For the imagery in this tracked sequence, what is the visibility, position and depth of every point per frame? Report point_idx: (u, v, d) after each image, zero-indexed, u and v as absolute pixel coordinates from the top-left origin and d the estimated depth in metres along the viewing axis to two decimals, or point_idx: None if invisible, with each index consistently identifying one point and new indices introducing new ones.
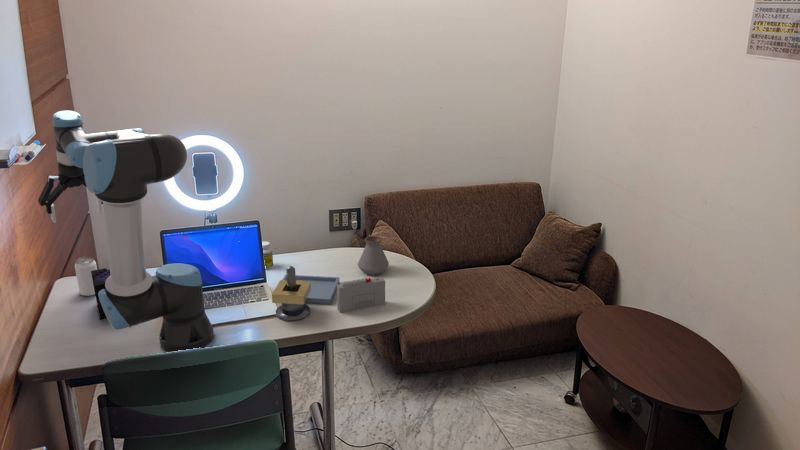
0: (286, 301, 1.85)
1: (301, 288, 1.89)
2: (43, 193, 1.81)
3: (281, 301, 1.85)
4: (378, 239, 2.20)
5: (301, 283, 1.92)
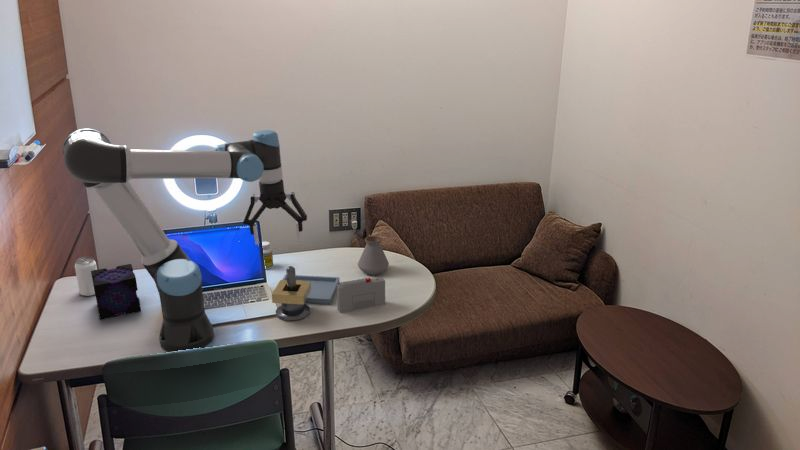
0: (286, 301, 1.85)
1: (301, 288, 1.89)
2: (247, 212, 1.91)
3: (281, 301, 1.85)
4: (378, 239, 2.20)
5: (301, 283, 1.92)
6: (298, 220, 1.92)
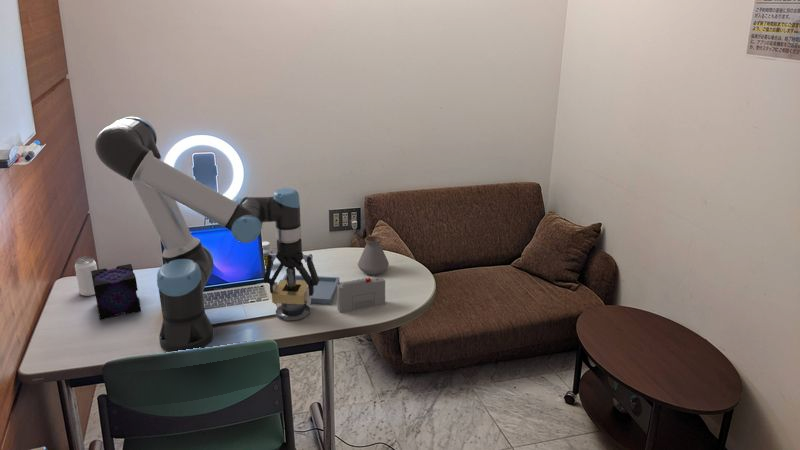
0: (286, 301, 1.85)
1: (301, 288, 1.89)
2: None
3: (281, 301, 1.85)
4: (378, 239, 2.20)
5: (301, 283, 1.92)
6: (309, 284, 1.87)
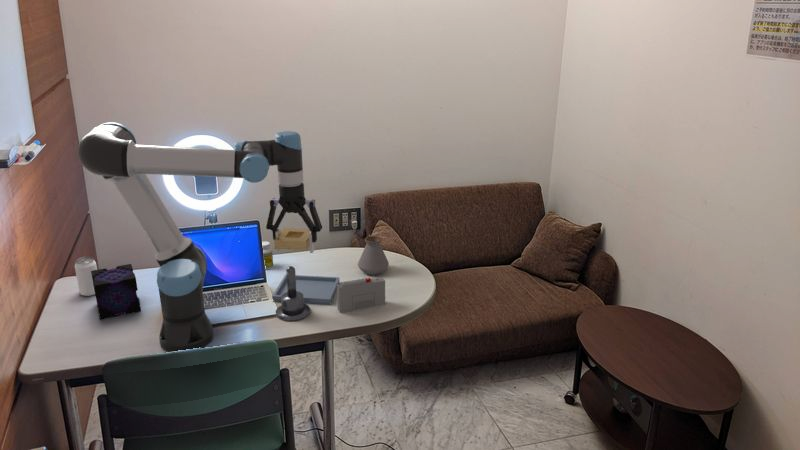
0: (289, 247, 1.83)
1: (304, 235, 1.86)
2: None
3: (284, 247, 1.83)
4: (378, 239, 2.20)
5: (304, 231, 1.90)
6: (312, 230, 1.84)
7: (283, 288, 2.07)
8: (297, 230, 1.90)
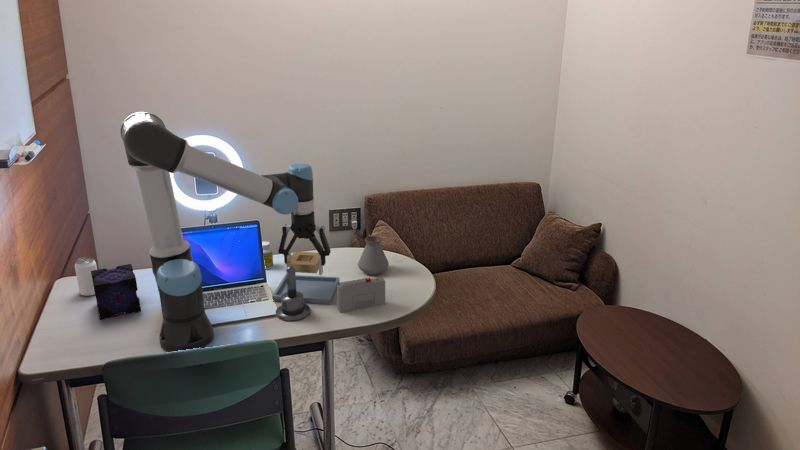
0: (300, 271, 1.97)
1: (314, 258, 2.00)
2: (281, 241, 1.99)
3: (295, 270, 1.97)
4: (378, 239, 2.20)
5: (313, 254, 2.03)
6: (321, 254, 1.98)
7: (283, 288, 2.07)
8: (306, 253, 2.04)
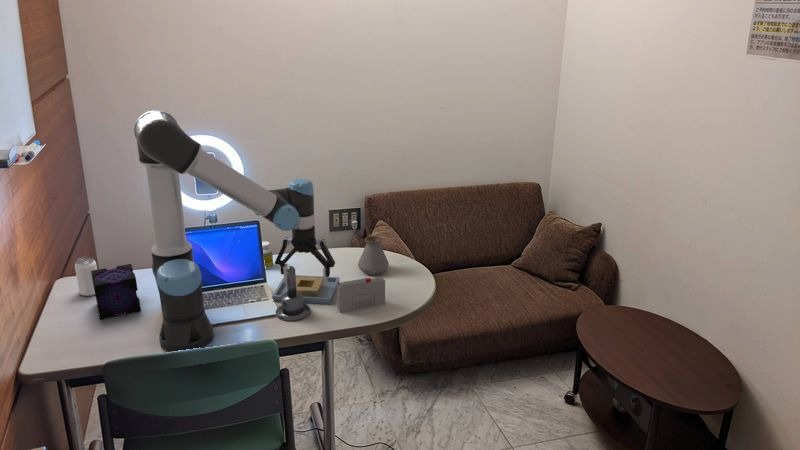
0: None
1: (315, 284, 2.03)
2: (279, 253, 2.01)
3: None
4: (378, 239, 2.20)
5: (314, 279, 2.07)
6: (326, 266, 2.00)
7: (283, 288, 2.07)
8: (308, 279, 2.07)
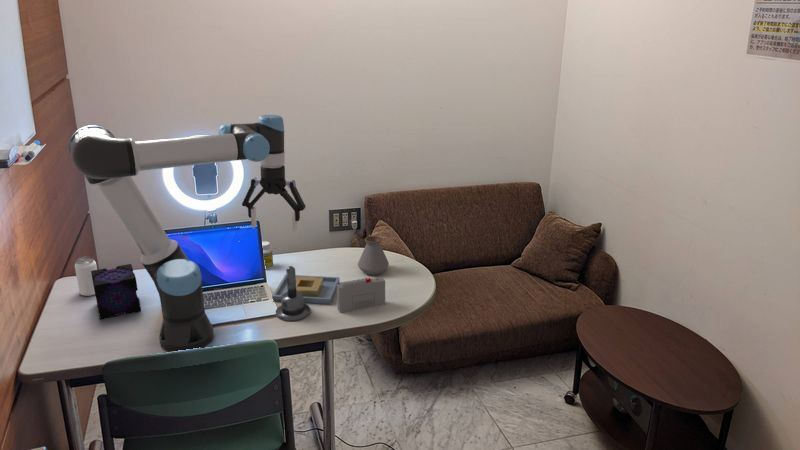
0: None
1: (315, 284, 2.03)
2: (247, 194, 1.91)
3: None
4: (378, 239, 2.20)
5: (314, 279, 2.07)
6: (295, 209, 1.90)
7: (283, 288, 2.07)
8: (308, 279, 2.07)
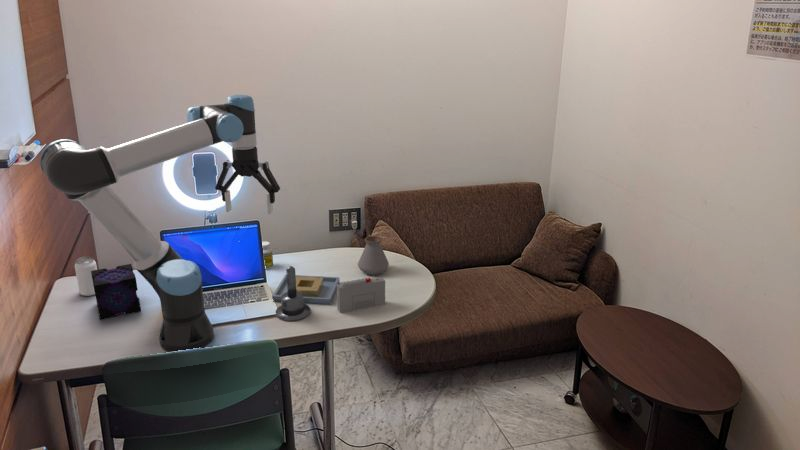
0: None
1: (315, 284, 2.03)
2: None
3: None
4: (378, 239, 2.20)
5: (314, 279, 2.07)
6: (269, 191, 1.87)
7: (283, 288, 2.07)
8: (308, 279, 2.07)
